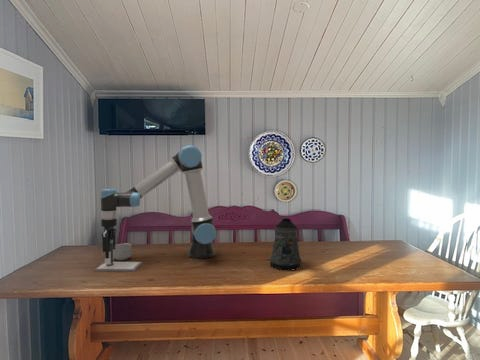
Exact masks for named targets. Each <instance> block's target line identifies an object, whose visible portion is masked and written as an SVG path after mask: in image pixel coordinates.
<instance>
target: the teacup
mask: <svg viewBox="0 0 480 360" xmlns="http://www.w3.org/2000/svg"><path fill="white" fill-rule="evenodd" d="M114 248H116V249H113V250H114V260H115V261H126V260H128V259H129V258H130V257H131V255H132V244H131V243H127V242H125V243H119V244H115V247H114Z"/></svg>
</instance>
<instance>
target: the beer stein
mask: <svg viewBox="0 0 480 360" xmlns="http://www.w3.org/2000/svg"><path fill="white" fill-rule="evenodd" d="M273 230H274V232H275V233H274V234H275V236H274V242H273V248H272V251H271V255H270V258H269V263H270V267H271V268H272V267H273V268H272V269H274V268H276V269H281V270H292V269H297V268H299V267H300V268H301V264H302V259H301V257H300V252H299V241H298V236H297V233H298V231H299V227H297V225H295V224H294V222H292V221H291V219H290V218H282V219H281V221H280V222H279V223H277V224H276V225H275V227H274V229H273ZM276 269H275V270H276ZM281 270H280V271H281ZM297 270H298V269H297ZM292 271H293V270H292Z"/></svg>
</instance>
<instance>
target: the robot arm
mask: <svg viewBox="0 0 480 360" xmlns="http://www.w3.org/2000/svg"><path fill="white" fill-rule="evenodd" d="M203 168H204V166H203V163H202V152H201V150H200V149H199V148H198V147H197V146H194V145H192V144H191V145H190V144H189V145H184V146H183V147H182V148H181V149H179V151H178V152H177V153H176V154H175V155H174V156H172V157H171V158H170V161H168V162H167V163H165V164H164V165H163V166H161V167H160V168H158V169H157V170H155V171H154V172H153V173H151V174H150V175H148V176H147V177H145V178H144V179H143V180H142V181H140V182H139V183H137V184H136V185H134V186H133V187H131V189H129V190H127V191H126V192H117V189H116V188H104V189H103V188H102V189H101V191H100V214H101V215H100V216H101V219H100V220H101V222H100V226H101V227H102V228H104V229H103V232H102V233H101V239H102V241H101V242H102V252H103V253H104V262H105V264H111V252H110V240H111V239H112V240H113V249H116V248H114V247H115V245H116V236H117V235H116V234H117V228H115V227H117V224H118V222H117V216H118V215H117V212H118V211H117V208H122V207H123V208H126V207H127V208H131V207H132V208H135V207H140V206H141V199H142V198H144V197H145V196H147V195H148V194H149V193H150V192H152V191H153V190H156V188H157V187H159V186H161V185H162V184H163V183H164V182H166V181H167V180H169V179H170V178H171V177H173V176H175V175H177V173H178V172H181V173H182V174H184V175H185V176H184V177H185V181H186V187H187V191H188V196H189V202H190V206H191V212H192V216H193V217H191V221H190V224H191V244H190V246H189V249H188V257H190V258H193V259H209V258H212V257H214V256H215V249H214V247H213V241H215V239H216V237H217V229H216V227H215V224H214V219H213V216H212V215H210V214H209V209H208V208H209V207H208V202H207V197H206V194H205V193H206V192H205V187H204V182H203V177H202V170H203ZM208 257H209V258H208ZM113 262H115V259H114V250H113Z"/></svg>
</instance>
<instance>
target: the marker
mask: <svg viewBox="0 0 480 360" xmlns="http://www.w3.org/2000/svg"><path fill="white" fill-rule="evenodd" d="M110 252H111V264H106V265H107V266H111V265H114V262H115V261H114V262H113V240H112V239H111V240H110Z"/></svg>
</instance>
